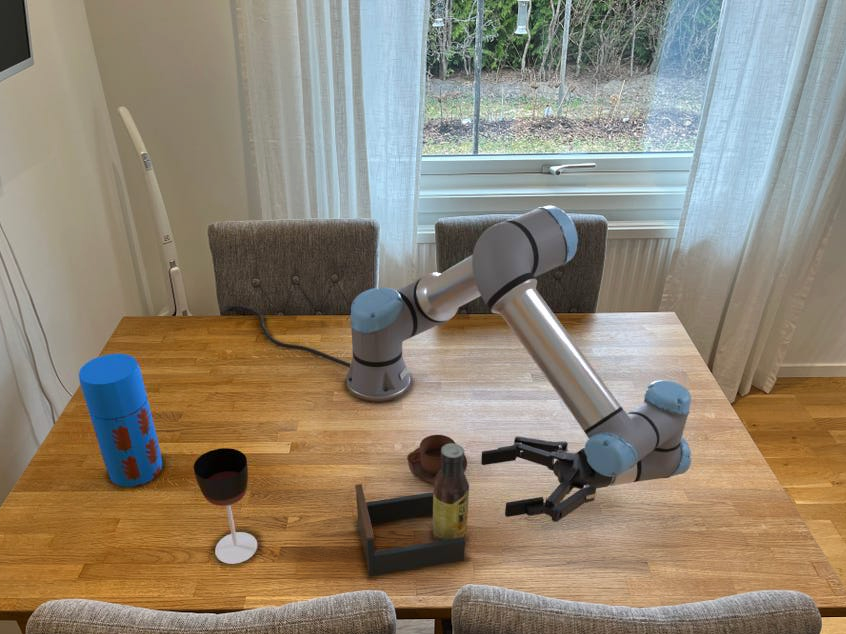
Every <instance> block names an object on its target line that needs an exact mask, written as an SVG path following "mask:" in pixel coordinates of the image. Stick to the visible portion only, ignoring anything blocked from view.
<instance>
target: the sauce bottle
mask: <svg viewBox="0 0 846 634" xmlns="http://www.w3.org/2000/svg"><path fill="white" fill-rule="evenodd" d="M464 455H465V449H464V447H463V446H461V445H460V444H458V443H456V444H453V443H451V444H446V445H444V446H443V447H442V448H441V459H442V464H441V471H439V473H438V474H437V475H436V477H435V481H434V484H433V486H434V487H433V491H432V492H433V515H432V535H433V538H434V539H435V542H436V541H442V540H448V539H454V538H460V537H464V539H466V536H467V531H468V515H469V514H468V512H469V498H470V497H469V494H470V485H469V482H468V479H467V476H466V474H465V472H464V471H463V459H464Z"/></svg>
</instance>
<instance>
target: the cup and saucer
mask: <svg viewBox="0 0 846 634" xmlns="http://www.w3.org/2000/svg"><path fill="white" fill-rule="evenodd" d="M451 443H453V444H457V443H456V442H455V440H454V439H452V438H451V437H449V436H447V435H445V434H431V435H428V436H426V437H425V438H423V439H422V440H421V441H420V443H419V447H417V448H416V449H414V450H413V451H411V452H409V454H407V457H406V459H407V463H408V468H409V471H410V472H411V474H412V475H413V476H414V477H415V478H417V479H418V480H420V481H422V482H425V483H427V484H432V485H434V481H435V477H436V475H437V474H438V473H439V471H441V464H442V459H441V448H442V447H443V446H444V445H446V444H451ZM467 467H468V459H467V456H465V454H464V459H463V471H464V473H466V471H467Z"/></svg>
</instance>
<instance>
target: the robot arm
mask: <svg viewBox="0 0 846 634" xmlns="http://www.w3.org/2000/svg"><path fill="white" fill-rule="evenodd" d="M578 243H579V237H578V232H577V229H576V225H575V223H574V222H573V220H572V217H570V215H569V214H568V213H567V212H566V211H565V210H562V209H561V208H559V207H558V206H555V205H547V206H546V205H545V206H539V207H537V208H535V209H533V210H531V211H528V212H526V213H525V212H524V213H523V214H520V215H518V216H515V217H512V218H509V219H507V220H503V221H500V222H498V223H496V224H494V225H492V226H489V227H488V228H487V229H486V230H484V232H482V234H481V235H480V237H479V238H478V239H477V241H476V243H475V246H474V248H473V253H472V254H470V255H469V256H467V257H466V258H465V259H463V260H461V261H459V262H458V263H456V264H454V265H453V266H451V267H449V268H448V269H446V270H444V271H442V272H441V273H440V272H430V273H427V274H425V275H423V276H422V277H419V278H418V279H416V280H415V281H413V282H411V283H410V284H407V285H405V286H403V287H400V288H397V289H394V288H390V287H385V286H383V287H382V286H381V287H379V288H377V287H374V288H370V289H367V290H364V291H363V292H361V293H359V294H358V295H356V297H355V298H354V299H353V300H352V302H351V305H350V317H349V322H350V327H351V347H352V349H351V350H352V359H351V362H347V361H345V360H342V359H339V358H337V357H334V356H332V355H329V354H327V353H324V352H321V351H319V350H317V349H314V348H311V347H307V346H303V345H299V344H291V343H285V342H281V341H278V340H277V339H275V338H273V337H272V336H271V335H270V333H269V332H268V330H267V328H266V327H265V323H264V316H263V315H262V314H261V312H259V311H258V310H255V309H253V308H252V307H249V306H245V305H242V304H241V305H239V304H237V305H236V304H235V305H231V306H229V307H228V308H227V311H229V312H231V311H232V310H236V309H240V310H244V311H247V312H251V313H252V314H255V315H257V316H258V317H259V321H260V329H261V331H262V332H263V334H264V335H265V336H266V338H267V339H268V340H269V341H270V342H271V343H273V344H275V345H277V346H280V347H283V348H289V349H295V350H296V349H297V350H302V351H306V352H309V353H312V354H315V355H318V356H320V357H322V358H325V359H327V360H329V361H332V362H335V363H337V364H340V365H343V366H345V367H348V371H347V374H346V387H347V390H348V392H349V393H350V394H351V395H352V396H354V397H355V398H357V399H360V400H362V401H366V402H371V403H372V402H373V403H383V402H390V401H393V400H395V399H398V398H400V397H402V396H403V395H404V394H406V392H408V391H409V389H410V387H411V376H410V375H411V374H410V372H409V369H408V366H407V364H406V361H405V359H404V357H403V342H404V341H406V340H409V339H411V338H413V337H415V336H417V335H421V333H424V332H426V331H428V330H431V329H433V328H435V327H437V326H441V325H444V324H446V323H447V322H449V321H450V320H451V319H452V318H453V317H454V316H456V314H457V312H458V310H459V308H460V307H463V306H464V305H466V304H468V303H470V302H472V301H474V300H476V299H478V298H480V297H481V298H482V300H483V302H484V303H485V305H486V306H487V307H488V308H489V310H490V311H491V313H492V314H496V315H500V316H501V317H502V318H503V320H504V322H506V324H507V325H508V327H509V328H510V329H511V331H512V332H513V334H514V335H515V337H516V338H517V339H518V342H520V344H521V345H522V346H523V348H524V349H525V351H526V352H527V353H528V355H529V357H531V359H532V360H533V363H535V365H536V366H537V367H538V369H539V370H540V372H541V373H542V374H543V376H544V377H545V378H546V380H547V381H548V383H549V384H550V386H551V387H552V389H554V391H555V392H556V394H557V395H558V397H559V398H560V399H561V401H562V403H564V406H566V408H567V410H568V411H569V412H570V413H571V415H572V416H573V418H574V419H575V420H576V422H577V423H578V424H579V426H580V427H581V429H582V430H583V432H584V433H585V435H586V437H587V438H588V439H587V440H586V442H585V444H584V447H583V448H581V449H580V450H579V451H576V452H570V451H569V449H568V446H569V443H568V442H567V441H565V440H564V441H551V440H544V439H538V438H531V437H527V436H526V437H525V436H520V435H519V436H515V437H514V439H513V444H511V445H505V446H499V447H497V448H496V449H490V450H483V451H481V459H480V463H481V465H482V466H487V465H494V464H500V463H506V462H514V461H516V460H517V458H519V459H521V460H525V461H529V462H532V463H535V464H537V465H540V466H544V467H546V468H547V469H548V470H550V471H552V472H553V474H554V475H555V476H556V477H557V481H558V483H559V484H558V485H557V487H556V488H555V489H554V490H553V492H552V493H551V494H550V495H549V496H548V497H545V499H544V497H543V496H538V497H531V498H525V499H519V500H514V501H508V502H507V501H506V502H505V507H504V508H505V509H504V516H505V517H506V518H512V517H516V516H524V515H527V516H529V517H532V516H539V515H546V516H549V517H550V518H551V521H552V522H553V523H558V522H559V521H561V520H562V519H564V518H565V517H566V516H568V515H569V514H571V513H573V512H574V511H575V510H577V509H578V508H580V507H581V506H583V505H584V504H586V503H591V502H593V501H595V500H596V495H597V494H596V493H597V489H602V488H608V487H609V486H611V487H613V486H619V485H626V484H633V483H637V482H646V481H651V480H660V479H669V478H671V477H676V476H679V475H683V474H685V473H686V472H688V470H689V469H690V467H691V465H692V457H691V455H692V452H691V448H690V446H689V443H688V442H687V440H686V439H685V438H684V437H683V434H684V430H685V427H686V424H687V420H688V416H689V414H690V412H691V411H690V407H691V401H692V395H691V392H690V391H689V390H688V388H687V387H685V386H684V385H682V384H679V383H678V382H676V381H673V380H668V379H667V380H665V379H662V380H661V379H659V380H655V381H653V382H651V383H650V384H649V385H648V386H647V389H646V391H645V393H644V396H643V398H644V399H643V402H642V403H641V404H639V405H638V406H636V407H634V408H633V409H631V410H630V411H629V412H626V411H625V409H624V408H623V407H622V406H621V404H620V402H619V401H618V400H617V399H616V397H615V396H614V395H613V393H612V392H611V391H610V389H609V388H608V386H607V385H606V383H605V382H604V381H603V380H602V378H601V376H599V374H598V373H597V370H595V369H594V367H593V365H592V364H591V363H590V362H589V360H588V359H587V357H586V356H585V355H584V354H583V352H582V351H581V349H580V348H579V346H578V345H577V344H576V343H575V341H574V339H573V338H572V337H571V336H570V334H569V332H568V331H567V330H566V328H565V327H564V325H562V323H561V322H560V320H559V319H558V318H557V316H556V315H555V313H554V312H553V311H552V309H551V308H550V306H549V305H548V304H547V302H546V301H545V299H544V298H543V297H542V295H541V294H540V293H539V291H538V290H537V285H538V280H537V279H536V278H537V277H539V276H541V275H543V274H545V273H547V272H549V271H551V270H553V269H555V268H558V267H562V266H564V265H566V264H567V263H568V262H569V261H571V260H573V258H574V256H575V255H576V253H577V251H578ZM574 489H579V490H577V491H575V492H574V493H573V494H571V495H570V496H568V497H566V496H567V495H569V494H570V493H571V492H572V491H573V490H574ZM565 497H566V498H565Z"/></svg>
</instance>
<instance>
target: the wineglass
mask: <svg viewBox="0 0 846 634" xmlns="http://www.w3.org/2000/svg"><path fill="white" fill-rule="evenodd" d="M248 468H249V467H248V459H247V456H246V454H245V453H243V452H242V451H241V450H239V449H236V448H231V447H230V448H228V447H223V448H215V449H211V450H208V451H207V452H204V453H203V454H201V455H200V456H199V457H197V459H196V460H195V461H194V463H193V473H194V476H195V477H194V478H195V479H196V482H197V485H198V487H199V490H200V492H201V493H202V495H203V497H204V499H205V500H206V501H207V502H209V503H210V504H212V505H213V506H218V507H226V513H227V517H228V523H229V528H230V534H227V535H225V536H224V537H222V538H221V539H219V541H218V542H217V543H216V546H215V548H214V551H215V553H214V554H215V557H216V558H217V559H218V560H219V561H221V562H222V563H225V564H229V565H235V564H240V563H243V562H245V561H248V560H249V559H250V558H251V557H253V555H255V553H256V552H257V550H258V541H257V539H256V537H255V536H254V535H252V533H248V532H245V531H236V526H235V521H234V517H233V511H232V505H235V504H237V503H238V502H240V501H241V500H242V499H243V498H244V496H245V495H246V493H247V490H248V483H249V481H248V480H249V469H248Z"/></svg>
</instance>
